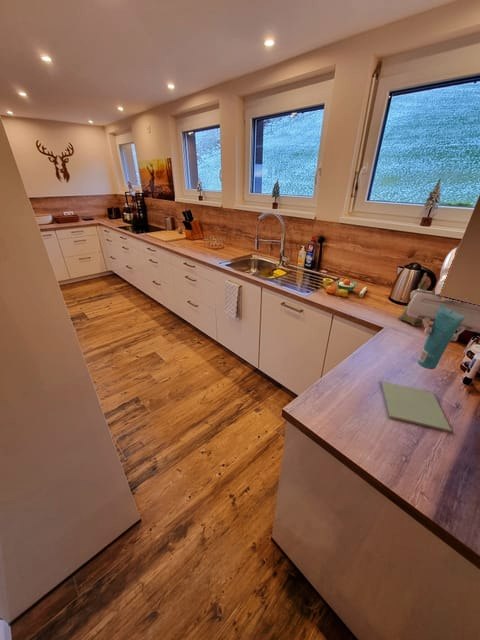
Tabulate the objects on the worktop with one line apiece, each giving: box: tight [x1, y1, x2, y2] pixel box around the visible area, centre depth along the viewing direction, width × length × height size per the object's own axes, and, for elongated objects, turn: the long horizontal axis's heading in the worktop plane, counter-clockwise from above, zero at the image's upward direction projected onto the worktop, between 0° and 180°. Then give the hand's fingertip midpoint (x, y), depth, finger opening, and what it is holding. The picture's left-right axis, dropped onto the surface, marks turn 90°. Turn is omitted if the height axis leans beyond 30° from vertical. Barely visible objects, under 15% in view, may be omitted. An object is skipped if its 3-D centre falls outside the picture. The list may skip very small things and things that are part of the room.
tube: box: [417, 305, 465, 370], centre depth 78 cm, size 7×5×19 cm, turn 20°
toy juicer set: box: [322, 277, 368, 298], centre depth 166 cm, size 29×18×8 cm, turn 79°
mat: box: [381, 381, 452, 433], centre depth 84 cm, size 16×16×1 cm
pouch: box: [399, 272, 429, 327], centre depth 130 cm, size 11×12×25 cm
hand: (440, 336), depth 77 cm, fingers closed on tube, 5 cm apart
